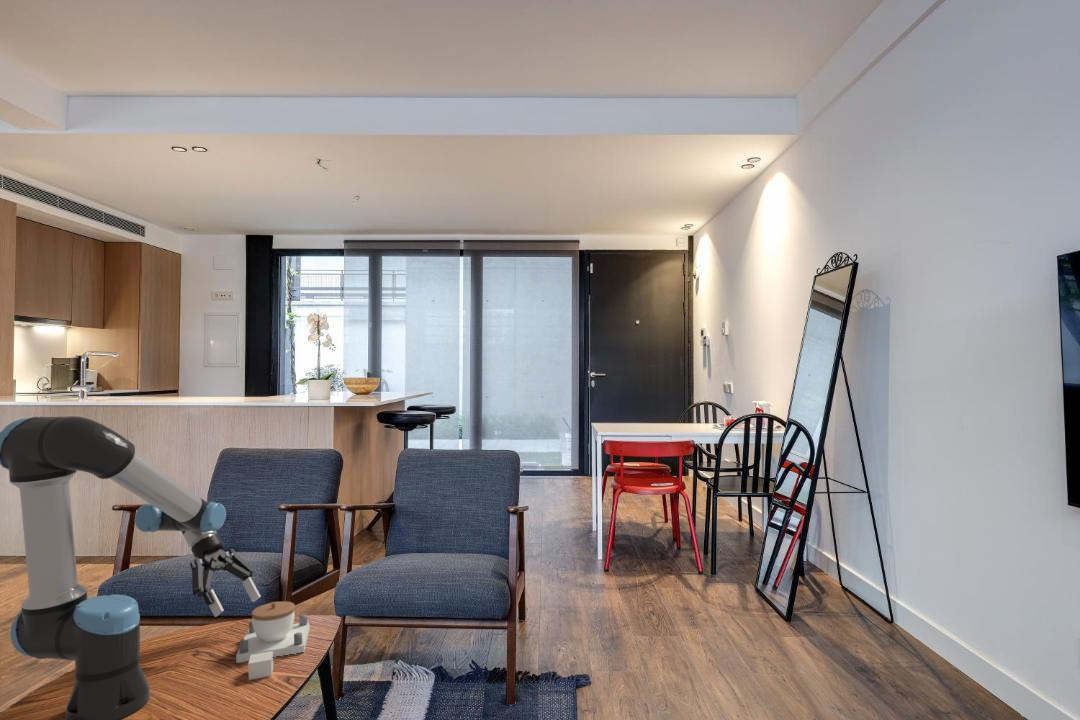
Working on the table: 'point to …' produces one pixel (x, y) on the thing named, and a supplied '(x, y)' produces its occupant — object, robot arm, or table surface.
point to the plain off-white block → (260, 665)
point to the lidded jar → (273, 620)
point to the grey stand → (286, 646)
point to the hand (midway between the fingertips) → (238, 606)
